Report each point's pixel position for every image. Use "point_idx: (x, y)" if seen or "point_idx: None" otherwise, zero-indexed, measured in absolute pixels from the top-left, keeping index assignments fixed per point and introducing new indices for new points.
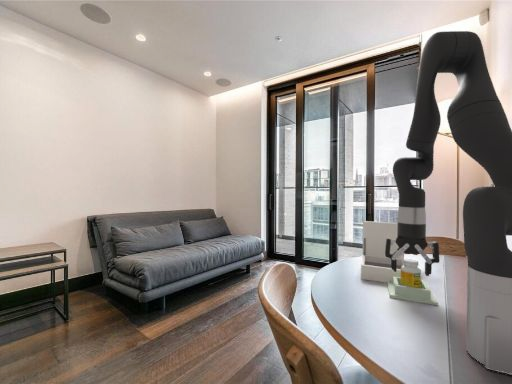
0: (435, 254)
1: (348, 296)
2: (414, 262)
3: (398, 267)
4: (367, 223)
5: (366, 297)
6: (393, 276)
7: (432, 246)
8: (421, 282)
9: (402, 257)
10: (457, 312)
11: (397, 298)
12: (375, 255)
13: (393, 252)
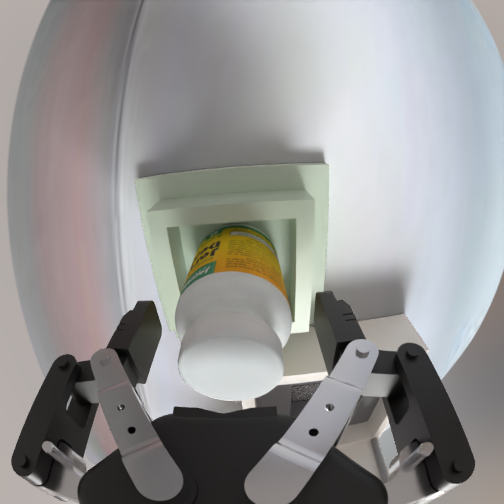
0: (52, 400)
1: (456, 114)
2: (201, 340)
3: None
4: None
5: (408, 124)
6: (306, 329)
7: (56, 462)
8: None
9: None
10: (88, 154)
11: (294, 164)
12: (340, 449)
13: None
